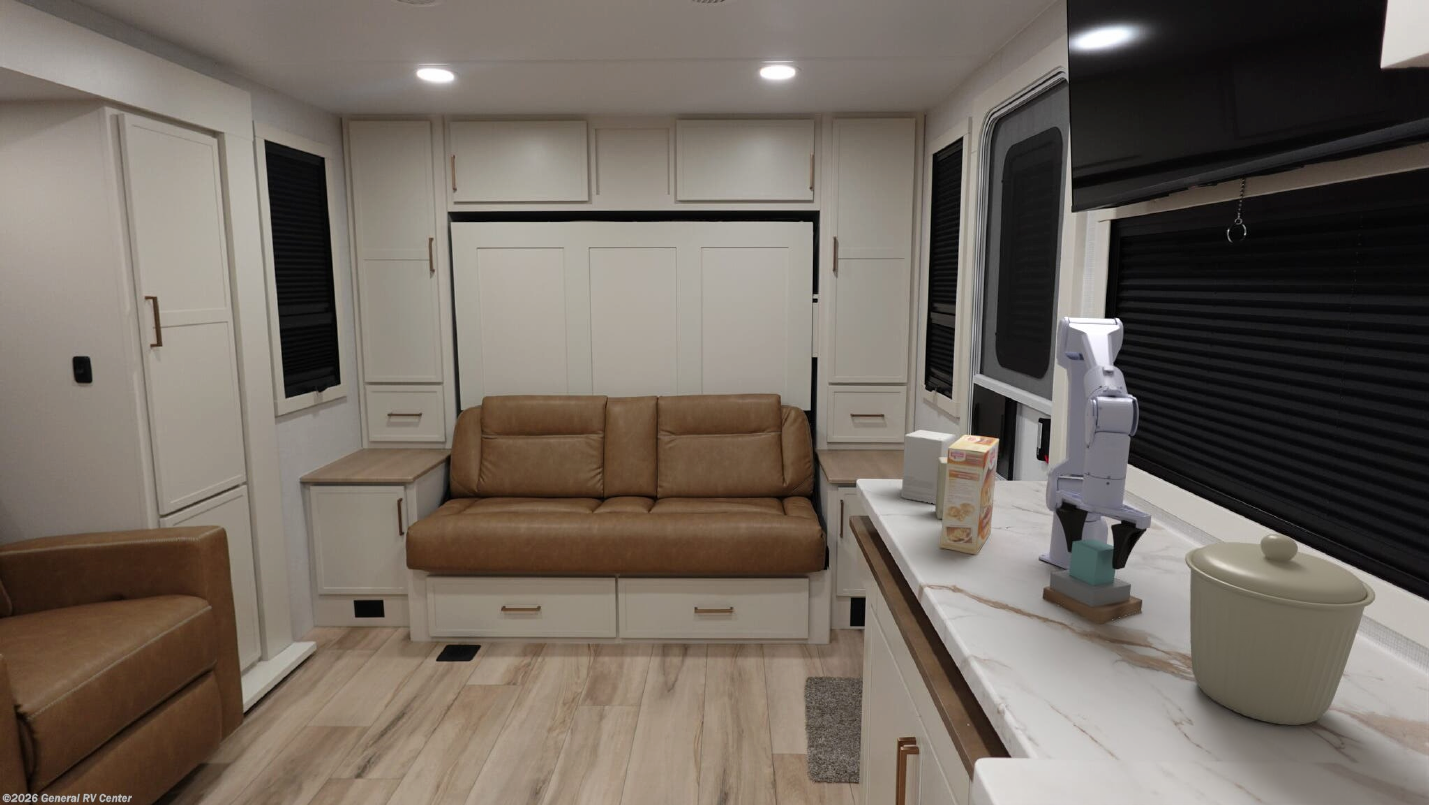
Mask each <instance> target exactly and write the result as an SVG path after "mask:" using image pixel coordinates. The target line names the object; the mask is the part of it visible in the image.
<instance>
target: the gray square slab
mask: <svg viewBox="0 0 1429 805" xmlns="http://www.w3.org/2000/svg"><path fill="white" fill-rule="evenodd" d="M1049 579H1050V581H1049V586H1050V588H1051V589H1054V590H1056V591H1058V592H1060V593H1062V594H1064V595H1066V596H1069V597H1071V598H1073V599H1075V600H1077V601H1079V602H1081V603H1084V604H1086V605H1088V606H1090V607H1092V608H1093V607H1098V606H1102V605H1107V604H1112V603H1117V602H1122V601H1126V600H1129V599H1130V595H1131V588H1132V584H1131V583H1129V582H1126V581H1124V580H1121V579H1119V578H1117V577H1114V582H1110V583H1105V584H1100V585H1095V586H1093V585H1091V584H1088V583H1086V582H1084V581H1081V580H1079V579H1077V578H1075V577H1072V576H1070V575H1069V570H1067V569H1062V570H1059V571H1058V570H1057V571H1053V572H1051V573H1050V578H1049Z"/></svg>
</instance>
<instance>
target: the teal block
mask: <svg viewBox="0 0 1429 805" xmlns="http://www.w3.org/2000/svg"><path fill="white" fill-rule="evenodd" d="M1112 557H1113V544H1109V543H1107V544H1106V543H1104V542H1101V541H1098V540H1096V539H1093V538H1092V539H1086V540H1080V541H1074V542H1073V544H1072V552H1071V561H1070V569H1069V575H1070V576H1072V577H1075V578H1077V579H1079V580H1081V581H1084V582H1086V583H1088V584H1091V585H1093V586H1095V585H1100V584H1105V583H1110V582H1114V578H1115V575H1116V569H1113V568H1112Z"/></svg>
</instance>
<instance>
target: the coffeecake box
mask: <svg viewBox="0 0 1429 805" xmlns="http://www.w3.org/2000/svg"><path fill="white" fill-rule="evenodd" d="M999 441H1000V439H999V438H998V437H997V438H995V437H988V436H981V435H972V434H971V435H970V434H964V435H962V436H961V437H960V438H959V439H957V440H955V443H953V444H952V445H951V446H950V447H948V457H947V468H946V482H945V495H944V506H943V519H942V521H941V522H942V523H941V534H940V535H941V537H940V545H939V547H940V548H941V549H945V550H951V551H955V552H960V553H965V554H970V555H975V556H977V555H978V554H979V553H980V550H981V549H982V548H983V546H984V544H986V543H985V542H986V541H987V539H988V537H989V536H990V535H991V531H992V521H993V520H992V517H993V507H994V498H995V497H994V496H995V485H996V484H995V483H996V477H997V476H996V473H997V465H998V464H997V463H998V462H997V461H998V454H999V453H998V452H999V445H1000V442H999Z"/></svg>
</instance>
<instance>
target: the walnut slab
mask: <svg viewBox="0 0 1429 805" xmlns="http://www.w3.org/2000/svg"><path fill="white" fill-rule="evenodd" d="M1042 599H1043V600H1045V601H1047V602H1049V601H1050V602H1049V603H1052V604H1054V605H1056V606H1058V605H1059V606H1058V607H1061V608H1063V609H1065V610H1068V611H1070V612H1073V613H1074V612H1075V614H1076V615H1079V616H1081V617H1083V618H1085V617H1086V618H1085V619H1088V620H1090V621H1092V622H1095V623H1096V624H1099V625H1101V624H1102V625H1103V624H1104V623H1109V622H1111V621H1113V620H1112V619H1115V620H1117V618H1118V619H1120V618H1119V617H1121V618H1124V617H1126V616H1125V615H1127V616H1130V615H1129V614H1131V615H1133V614H1132V613H1134V614H1136V613H1135V612H1137V613H1139V611H1140V612H1142V608H1143V599H1140V598H1139V597H1135V596H1133V595H1131V594H1130V599H1129V600H1126V601H1122V602H1117V603H1112V604H1107V605H1102V606H1098V607H1093V608H1092V607H1090V606H1088V605H1086V604H1084V603H1081V602H1079V601H1077V600H1075V599H1073V598H1071V597H1069V596H1066V595H1064V594H1062V593H1060V592H1058V591H1056V590H1054V589H1051V588H1050V585H1049V586H1046V587H1043V591H1042ZM1123 616H1124V617H1123Z"/></svg>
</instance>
